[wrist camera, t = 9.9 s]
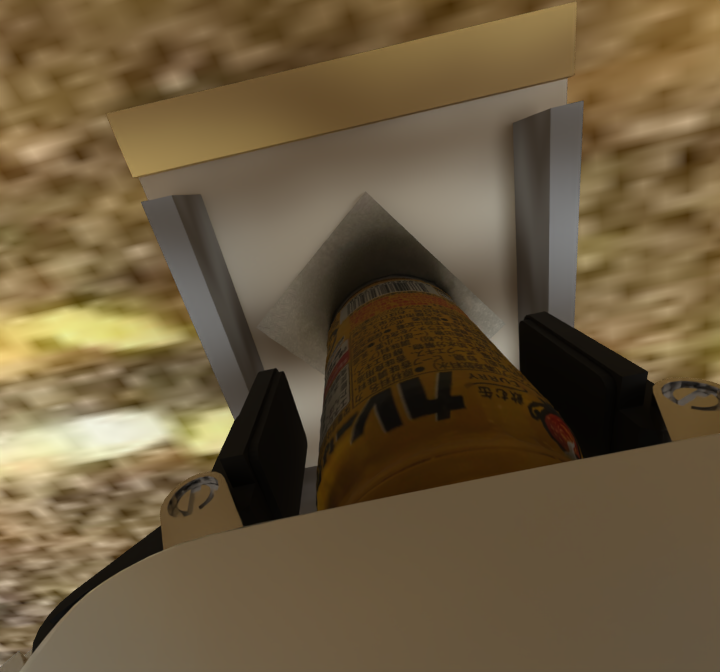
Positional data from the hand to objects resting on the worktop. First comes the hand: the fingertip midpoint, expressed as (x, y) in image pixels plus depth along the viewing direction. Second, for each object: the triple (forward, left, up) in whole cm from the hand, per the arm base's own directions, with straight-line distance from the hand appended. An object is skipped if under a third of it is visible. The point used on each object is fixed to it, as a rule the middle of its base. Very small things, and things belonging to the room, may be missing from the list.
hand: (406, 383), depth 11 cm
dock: (-1, 0, -8) cm, 8 cm away
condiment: (0, 0, -5) cm, 5 cm away
